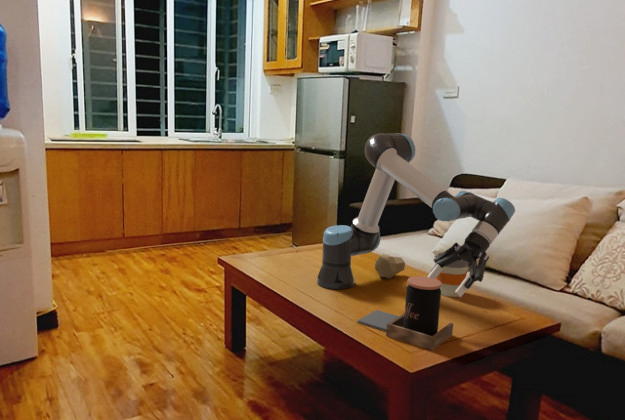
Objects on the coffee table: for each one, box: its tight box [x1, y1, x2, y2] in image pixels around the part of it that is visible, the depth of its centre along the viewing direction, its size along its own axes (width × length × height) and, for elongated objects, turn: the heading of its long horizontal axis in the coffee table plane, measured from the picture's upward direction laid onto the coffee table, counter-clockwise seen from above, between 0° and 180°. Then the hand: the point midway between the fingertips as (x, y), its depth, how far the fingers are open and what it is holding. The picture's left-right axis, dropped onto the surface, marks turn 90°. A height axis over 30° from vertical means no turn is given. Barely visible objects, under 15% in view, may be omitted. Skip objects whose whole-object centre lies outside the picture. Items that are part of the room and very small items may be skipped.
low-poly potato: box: [374, 254, 406, 280], centre depth 229 cm, size 15×11×12 cm
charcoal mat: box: [356, 309, 400, 332], centre depth 180 cm, size 12×13×1 cm
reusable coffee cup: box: [436, 252, 469, 298], centre depth 211 cm, size 13×13×15 cm
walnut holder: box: [385, 312, 454, 351], centre depth 170 cm, size 16×15×4 cm
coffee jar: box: [403, 275, 442, 336], centre depth 169 cm, size 11×11×18 cm
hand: (442, 288), depth 170 cm, fingers open, 13 cm apart
